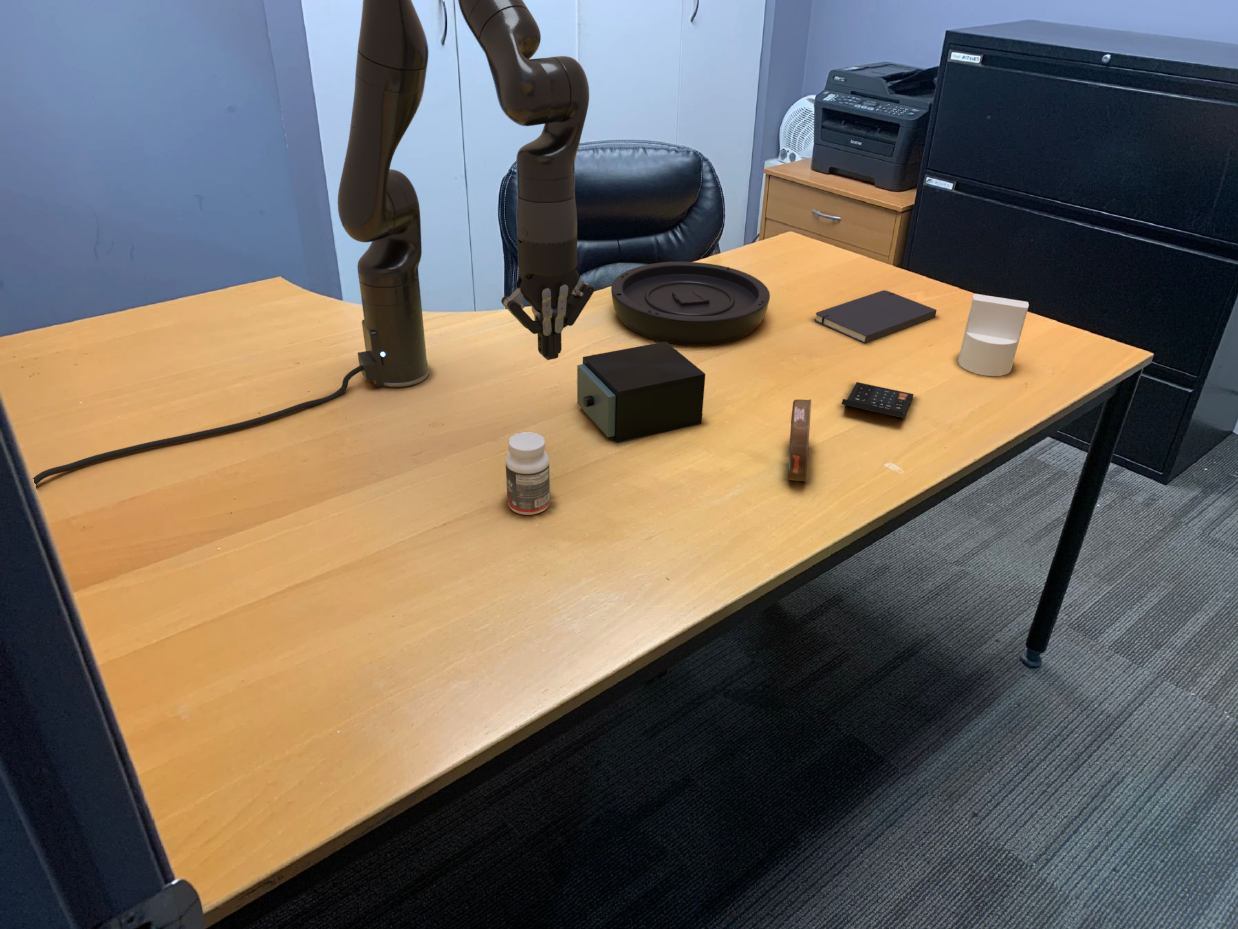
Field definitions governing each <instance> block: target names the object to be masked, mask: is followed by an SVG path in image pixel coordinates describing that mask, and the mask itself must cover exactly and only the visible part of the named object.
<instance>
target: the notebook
mask: <svg viewBox="0 0 1238 929" xmlns="http://www.w3.org/2000/svg"><path fill="white" fill-rule="evenodd" d="M937 311H938V310H937V309H935V308H934V307H931V306H928V305H926V304H923V303H920V302H917V301H915V300H912V299H910V298H907V297H904V296H902V295H899V294H897V293H895V292H891V291H889V290H886V289H885V290H879V291H877V292H873V293H870V294H867V295H864V296H862V297H858V298H855V299H852V300H849V301H846V302H842V303H840V304H838V305H835V306H831V307H829V308H825V309H823V310H820V311H817V312H815V315H816V318H815V319H814V321H815V323H818V324H820V325H822V326H825V327H827V328H829V329H831V330H834V331H836V332H837V333H838V332H839V333H841V334H843V335H845V336H847V337H850V338H851V339H855V340H856V341H859V342H861V343H864V344H866V343H870V342H872V341H875V340H878V339H880V338H883V337H885V336H888V335H890V334H893V333H896V332H899V331H901V330H904V329H907V328H910V327H912V326H915V325H917V324H920V323H923V322H925V321H928V320H931V319H934V318H936V315H937Z"/></svg>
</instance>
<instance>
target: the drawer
mask: <svg viewBox="0 0 1238 929" xmlns="http://www.w3.org/2000/svg"><path fill="white" fill-rule="evenodd" d="M576 385H577V386H576V404H577V405H578V406H579V408H580V409H581V410H582V411H583V412H584V413H585V414H586V415H587V416H588V418H590V419H591V420H592V422H593V423H594V424H595V425H596V426H597V427H598V428H599V429H600V431H602V433H603V434H604V435H605V436H606V437H607V438H612V437H611V436H615V410H616V394H615V393H614V392H613V391H612V390H611V389H610V388H609V387H608V386H607V385H606V384H605V383H604V382H603V381H602V380H601V379H600V378H599V377H598V376H597V375H596V374H595V373H593V372H592V371H591V370H590V369H589V368H588V367H587V366H586V365H585V364H583V363H581V364H577V365H576Z"/></svg>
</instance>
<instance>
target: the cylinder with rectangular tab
mask: <svg viewBox="0 0 1238 929" xmlns="http://www.w3.org/2000/svg"><path fill="white" fill-rule="evenodd" d="M1029 306H1030V304H1029V302H1028V301H1024V300H1018V299H1012V298H1007V297H1006V298H1005V297H998V296H992V295H987V294H981V293H980V294H979V293H974V294H973V296H972V299H971V304H970V308H969V313H968V316H967V321H966V324H965V325H966V326H965V329H964V333H963V336H962V342H961V345H960V349H959V354H958V358H957V363H958V365H959V366H960V367H961V368H963V369H964V370H966V371H967V372H970V373H972V374H976V375H979V376H980V375H981V376H987V377H1001V376H1002V377H1003V376H1005V375H1008V374H1009V373H1011V371H1012V368H1013V365H1014V361H1015V357H1016V354H1017V350H1018V346H1019V342H1020V339H1021V336H1022V332H1023V328H1024V325H1025V321H1026V317H1027V314H1028V310H1029Z"/></svg>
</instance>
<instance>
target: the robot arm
mask: <svg viewBox="0 0 1238 929" xmlns="http://www.w3.org/2000/svg"><path fill="white" fill-rule="evenodd" d="M457 3H458V7H459V11H460V12H461V15H462V17H463V20H464V22H465V24H466V25H467V27H468V29H469V30H470V32H471V33H472V35H473V37H474V38H475V40H476V41H477V43H478V44H479V47H480V48H481V50H482V51H483V53H484V55H485V57H486V60H487V65H488V67H489V71H490V75H491V77H492V82H493V84H494V87H495V88H494V89H495V93H496V97H497V101H498V105H499V107H500V109H501V111H502V112H503V113H504V115H505V116H506V117H507V118H508V119H509V120H511V122H513V123H514V124H517V125H519V126H522V127H532V126H539V125H543V128H542V131H541V134H540V135H539V136H538V137H537V138H535V139H534V140H532V141H529V142H528V143H526V144H524V145H522V146H521V147H520V148H519V149H518V150H517V153H516V162H515V163H516V164H515V165H516V190H517V193H516V194H517V197H516V198H517V200H516V212H515V218H516V219H515V220H516V221H515V222H516V223H515V224H516V244H517V245H516V246H517V247H516V248H517V249H516V250H517V266H518V273H519V274H518V278H517V280H516V281H515V282H516V283H515V287H516V289H515V290H514V291H513V292H512V293H511V294H510V295H509V296H508V295H504V296H503V297H502V298H501V300H500V301H501V304H502V305H503V306H504V307H505V308H506V309H507V310H508V312H509V313H510V314H511V315H512V316H513V317H514V318H515V319H516V320H517V321H518V322H519V323H520V324H521V325H522V326H523V327H524V328H525V329H527V330H528V331H529V332H530V333H532V334H533V335H537V352H538V353H539V354H540V355H541V356H542V357H543V358H544V359H545V360H546V361H551V360H555V359H558V358H559V354H561V352H562V332H563V331H564V329H566V327H568V326H569V327H572V326H573V325H575V323H576V321H577V319H578V318H579V316H580V315H581V314H582V312H583V310H584V309H585V307H586V305H587V304H588V302H589V301H590V299H591V297H592V296H593V294H594V292H595V288H594V286H592V285H590V284H589V283H587V282H586V281H584V280H581V279H580V274H579V272H578V270H577V266H578V225H579V224H578V210H577V204H576V173H575V172H576V170H575V168H576V167H575V165H576V164H575V162H576V158H577V155H578V154H577V153H578V150H579V146H580V144H581V143H580V142H581V139H582V134H583V131H584V127H585V124H586V123H585V122H586V118H587V114H588V109H589V103H590V87H589V81H588V80H589V79H588V77H587V74H586V72H585V70H584V68H583V66H582V65H581V63H579V62H578V60H576V59H575V58H573V57H571V56H568V55H567V56H566V55H557V56H549V57H541V58H538V57H537V58H532V57H534V55H535V54H536V53H537V51H538V49H539V47H540V45H541V40H542V35H541V34H542V33H541V30H540V27H539V25H538V23H537V21H536V19H535V17H534V16H533V14H532V12H531V11H530V10H529V8H528V6H527V5H526V3H525V2H524V0H457ZM360 20H361V21H360V28H359V34H358V35H359V36H358V44H357V52H356V63H355V75H354V76H355V78H354V93H353V102H352V110H351V117H350V118H351V119H350V127H349V135H348V141H347V147H346V152H345V157H344V161H343V166H342V172H341V177H340V181H339V185H338V186H339V187H338V192H337V193H338V194H337V212H338V217H339V221H340V223H341V226H342V227H343V230H344V231H345V232H346V234H347V235H348V236H349V237H350V238H351V239H353V240H355V241H357V242H359V243H370V245H369V247H368V248H367V250H366V251H365V252H364V253H363V254H362V255H361V256H360V258H359V259H358V261H357V267H356V268H357V276H358V282H359V291H360V297H361V304H362V305H361V306H362V313H363V319H362V321H361V328H362V334H363V342H364V348H365V349H364V350H365V351H358V352H357V358H358V366H356V367H355V368H353V369H351V370H350V371H349V372H347V373H346V374H345V376H344V377H343V379H342V382H341V387H340V388H338V390H336V391H335V392H333V393H332V394H330V395H328V396H325V397H322V398H317V399H312V400H307V401H304V402H300V403H298V404H296V405H292V406H290V407H286V408H284V409H280V410H278V411H275V412H272V413H268V414H265V415H262V416H258V417H256V418H252V419H248V420H244V421H240V422H236V423H232V424H227V425H224V426H218V427H215V428H210V429H204V430H200V431H197V432H191V433H187V434H186V433H185V434H182V435H177V436H173V437H167V438H162V439H157V440H152V441H149V442H144V443H140V444H135V445H131V446H127V447H122V448H119V449H114V450H111V451H106V452H103V453H102V452H101V453H98V454H96V455H91V456H88V457H85V458H83V459H79V460H76V461H73V462H70V463H67V464H63V465H59V466H55V467H51V468H48V469H45V470H43V471H41V472H40V473H38V474H36V475H35V476H33V477H32V479H34V483H35V484H36V486H37V485H38V484H39V483H40V482H41V481H43V480H44V479H46V478H48V477H52V476H53V475H54V476H55V475H57V474H62V473H64V472H69V471H73V470H75V469H79V468H82V467H84V466H87V465H89V464H91V465H92V464H93V463H96V462H97V463H98V462H101V461H105V460H108V459H112V458H117V457H121V456H125V455H128V454H132V453H137V452H140V451H145V450H149V449H153V448H158V447H163V446H168V445H173V444H178V443H183V442H187V441H193V440H197V439H201V438H205V437H210V436H215V435H218V434H223V433H228V432H233V431H236V430H241V429H244V428H248V427H252V426H256V425H260V424H262V423H266V422H268V421H272V420H275V419H278V418H281V417H284V416H287V415H290V414H292V413H295V412H299V411H301V410H304V409H307V408H311V407H315V406H319V405H322V404H326V403H328V402H330V401H332V400H335V399H337V398H339V397H340V396H342V395H343V394H344V393H345V392H346V391H347V389H348V386H349V382H350V381H351V379H352V378H353V377H355V376H356V375H357V374H359V373H362V375H363V377H364V379H365V381H366V382H367V383H368V382H373V384H374V385H375V386H376V388H380V387H388V388H404V387H405V388H406V387H410V386H414V385H417V384H419V383H421V382H423V381H425V379H427V378H428V376H429V366H428V358H427V347H426V336H425V327H424V318H423V317H424V316H423V307H422V296H421V286H420V275H419V274H420V273H419V265H420V262H421V261H422V260H421V259H422V254H423V252H422V251H423V249H422V225H421V224H422V222H421V208H420V202H419V197H418V193H417V192H416V188H415V187H414V185H413V183H412V181H411V180H410V178H408V177H407V175H406V174H404V173H403V172H401V170H396V169H392V168H391V164H392V161H393V158H394V156H395V153H396V150H397V148H398V146H399V145H400V142H401V141H402V138H403V137H404V135H405V134H406V132H407V130H408V129H409V127H410V125H411V124H412V121H413V120H414V118H415V117H416V114H417V112H418V110H419V107H420V105H421V102H422V100H423V97H424V96H423V95H424V92H425V86H426V78H427V71H428V64H429V55H430V53H429V52H430V51H429V50H430V49H429V44H428V39H427V36H426V32H425V29H424V27H423V24H422V22H421V20H420V18H419V14H418V13H417V10H416V7H415V6H414V4H413V1H412V0H362V9H361V19H360ZM523 299H524V300H525V301H526V302H527V303H528V304H529V305H530V307H531V312H532V314H533V318H532V317H531V316H530V315H528V313H527V312H526V311H525V310H524V308H525V302H524V300H523ZM533 319H534V320H533Z"/></svg>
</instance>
